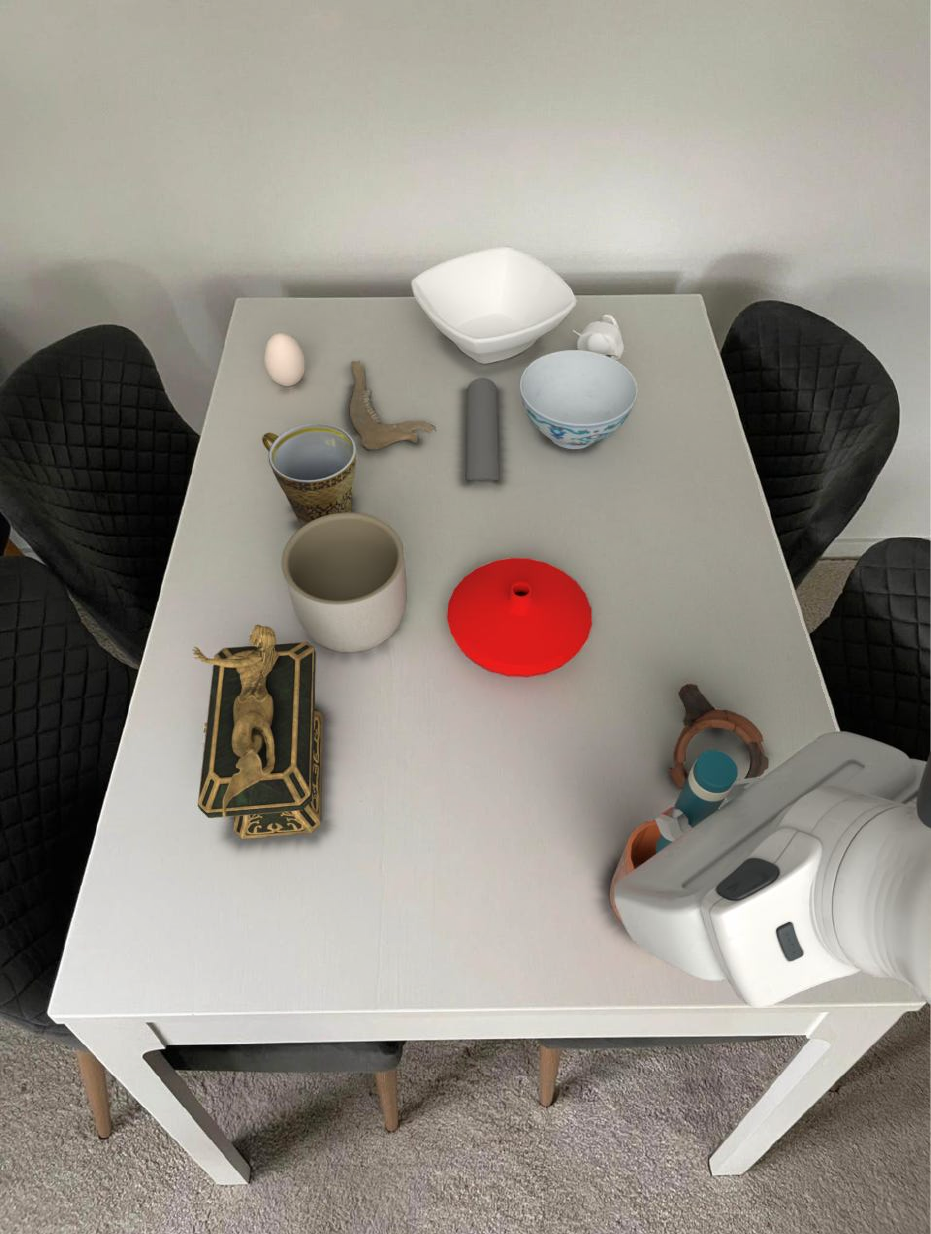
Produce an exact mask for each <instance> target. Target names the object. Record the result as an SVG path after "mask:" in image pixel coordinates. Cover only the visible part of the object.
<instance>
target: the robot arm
mask: <svg viewBox="0 0 931 1234" xmlns="http://www.w3.org/2000/svg"><path fill="white" fill-rule="evenodd" d="M655 820H656V823H657V825H658V828H659V830H660V832H661V834H662V835H663V837H664V838H665V839H667V840H669V841H671V842H672V843H671V844H669V845H668V846H667V847H665V848H664V849H663V850H661V851H660V852H658V853H657V854H656V855H654V856H653V857H651V858H650V859H649V860H647V861H646V862H644V863H643V864H642V865H640V866H639V867H638V868H636V869H635V870H633V871H632V872H631V873H629V874H628V875H626V876H625V877H623V878H622V879H621V880H619V881H618V882H617V883H616V885H615V889H614V901H615V904H616V908H617V910H618V913H619V915H620V918H621V920H622V922H623V923H622V922H621V923H622V924H623V926H624V928H625V930H626V932H627V934H628V936H630V938H631V940H632V941H633V942H634V943H635V944H637V945H638V946H639V947H640V948H641V949H643V950H645V951H646V952H647V953H649V954H651V955H652V956H654V957H656V958H657V959H659V960H660V961H661V962H664V963H666V964H668V965H669V966H670V967H672V968H674V969H676V970H678V971H680V972H682V973H684V974H685V975H689V976H690V977H693V978H696V979H699V980H703V981H708V982H721V981H726V980H727V982H729V984H730V986H731V988H732V990H733V991H734V993H735V995H736V996H737V998H738V999H739V1000H741V1002H742V1003H744V1004H746V1005H747V1006H748V1007H751V1008H754V1009H765V1008H769V1007H771V1006H773V1005H776V1004H779V1003H781V1002H782V1001H784V1000H786V999H789V998H790V997H793V996H795V995H797V994H800V993H802V992H804V991H806V990H809V989H811V988H814V987H817V986H819V985H822V984H824V983H827V982H831V981H834V980H838V979H842V978H846V977H850V976H852V975H855V974H858V973H859V972H862V973H864V974H865V975H869V976H871V977H874V978H876V979H879V980H883V981H889V982H892V983H893V982H894V983H899V984H902V985H905V986H906V987H908V988H910V989H911V990H913V991H914V992H915V993H916V994H918V995H919V997H921V998H922V999H923V1000H924V1001H925V1002H926V1003H927V1004H928V1005H929V1006H931V751H930V752H929V755H928V757H927V761H926V760H921V759H916V758H910V757H909V756H908V755H907V753H905V752H904V751H902V750H900V749H898V748H896V747H894V746H892V745H890V744H887V743H884V742H882V741H878V740H876V739H873V738H870V737H867V736H864V735H862V734H861V735H860V734H858V733H853V732H850V731H845V730H841V731H832V732H827V733H822V734H821V735H819V736H818V737H816V738H815V739H814V740H813V741H811V742H810V743H808V744H807V745H806V746H805V747H803V748H801V749H799V750H798V751H797V752H796V753H794V754H793V755H792V756H790V757H789V758H788V759H786V760H785V761H783V762H782V763H780V764H779V765H778V766H776V767H775V768H774V769H772V770H771V771H769V772H768V773H767V774H765V775H763V776H762V777H761V778H760V777H755V778H747V779H744V778H741V779H736V780H735V782H734V785H733V787H732V788H731V790H730V792H729V794H728V795H727V796H726V797H725V799H724V800H723V802H722V804H721V805H720V807H719V809H718V810H717V811H715V812H714V813H713V814H711V815H710V816H708V817H707V818H706V819H704V820H703V821H701V822H700V823H699V824H697V825H696V826H694V827H693V828H692V827H691V825H689V824H688V822H689V819H688V817H687V815H686V813H685V812H684V811H682V810H680V809H676V808H675V807H674V806H671V807H669V808H668V809H666V810H664V811H663V812H662V813H660V814H658V815H657V816H656V817H655Z"/></svg>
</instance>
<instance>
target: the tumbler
mask: <svg viewBox="0 0 931 1234" xmlns="http://www.w3.org/2000/svg"><path fill="white" fill-rule="evenodd" d="M660 834H661V832H660V830H659V828H658V825H657V823H656V819H652V820H647V821H644V822H643V823H642V824H640V825H639V826H637V827H636V828H635V829H634V830H633V831H632V833H631V834H630V836H629V838H628V840H627V842H626V844H625V847H624V849H623V851H622V853H621V856H620V859H619V861H618V863H617V866H616V868H615V871H614V873H613V876H612V879H611V881H610V886H609V901H610V905H611V908H612V910H613V912H614V914H615V915H616V917H617V918H618V919H619V921H620V922H621V923H622V924H623V922H622V920H621V918H620V915H619V913H618V910H617V908H616V904H615V901H614V889H615V885H616V883H617V882H618V881H619V880H621V879H622V878H623V877H625V876H626V875H628V874H629V873H631V872H632V871H633V870H635V869H636V868H638V867H639V866H640V865H642V864H643V863H644V862H646V861H647V860H649V859H650V858H651V857H653V856H654V855H656V854H657V853H656V843H657V841H658V838H659V836H660Z"/></svg>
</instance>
